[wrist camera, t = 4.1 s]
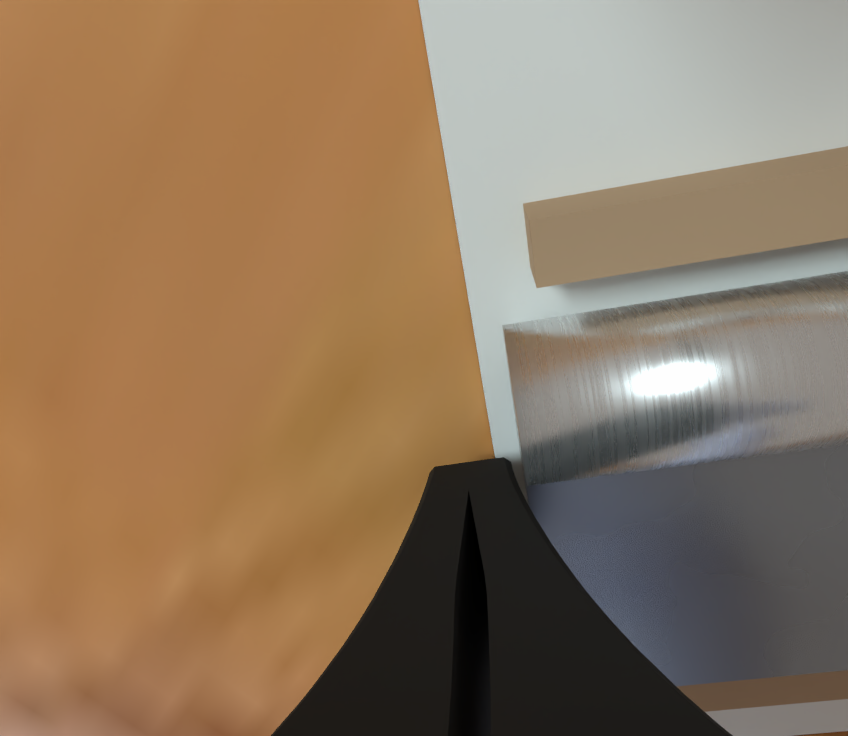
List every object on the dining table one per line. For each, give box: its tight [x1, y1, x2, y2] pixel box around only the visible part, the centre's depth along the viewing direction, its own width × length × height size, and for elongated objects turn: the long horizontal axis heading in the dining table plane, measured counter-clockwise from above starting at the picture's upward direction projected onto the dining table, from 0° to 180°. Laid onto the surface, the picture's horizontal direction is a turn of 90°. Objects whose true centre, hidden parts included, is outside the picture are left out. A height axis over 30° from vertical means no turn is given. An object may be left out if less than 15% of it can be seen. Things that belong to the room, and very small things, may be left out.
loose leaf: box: [502, 271, 848, 686], centre depth 11 cm, size 8×7×2 cm
